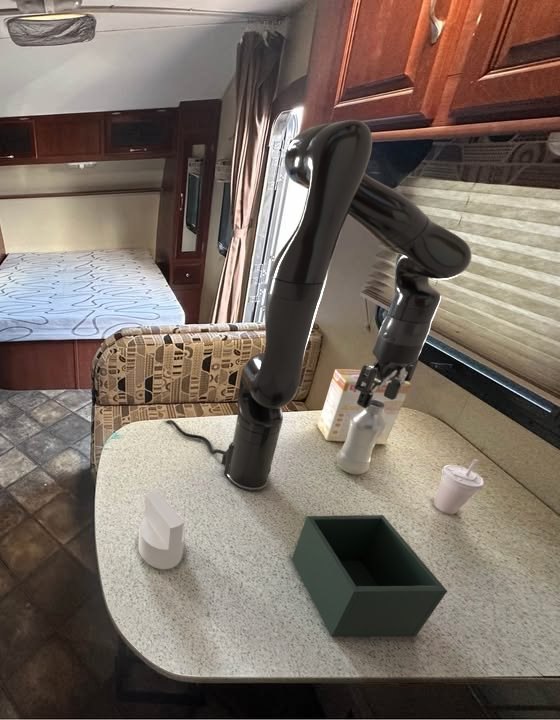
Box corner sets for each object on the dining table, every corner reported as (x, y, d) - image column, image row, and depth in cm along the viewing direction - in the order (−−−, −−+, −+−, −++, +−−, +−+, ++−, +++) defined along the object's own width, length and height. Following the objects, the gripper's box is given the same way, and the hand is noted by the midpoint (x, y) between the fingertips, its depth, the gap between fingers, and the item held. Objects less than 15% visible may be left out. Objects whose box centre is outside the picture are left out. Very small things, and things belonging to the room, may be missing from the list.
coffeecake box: (372, 429, 107) (396, 370, 98) (386, 445, 101) (413, 384, 92) (316, 425, 109) (334, 367, 100) (326, 441, 103) (346, 381, 94)
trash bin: (331, 636, 61) (354, 591, 55) (291, 559, 73) (306, 515, 67) (415, 636, 61) (447, 591, 55) (361, 558, 73) (383, 514, 67)
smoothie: (472, 521, 79) (503, 472, 73) (437, 517, 80) (465, 468, 74) (451, 497, 85) (479, 450, 78) (419, 494, 86) (444, 447, 79)
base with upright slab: (130, 539, 79) (131, 499, 73) (165, 523, 82) (169, 484, 76) (154, 576, 71) (157, 535, 66) (192, 558, 74) (198, 517, 69)
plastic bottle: (366, 481, 90) (395, 414, 80) (333, 471, 93) (358, 406, 84) (365, 465, 95) (392, 400, 85) (334, 456, 98) (357, 392, 89)
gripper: (396, 350, 72) (369, 418, 79) (445, 337, 76) (415, 403, 83) (358, 336, 78) (337, 400, 86) (405, 325, 82) (381, 387, 90)
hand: (375, 401), depth 84 cm, fingers open, 8 cm apart
